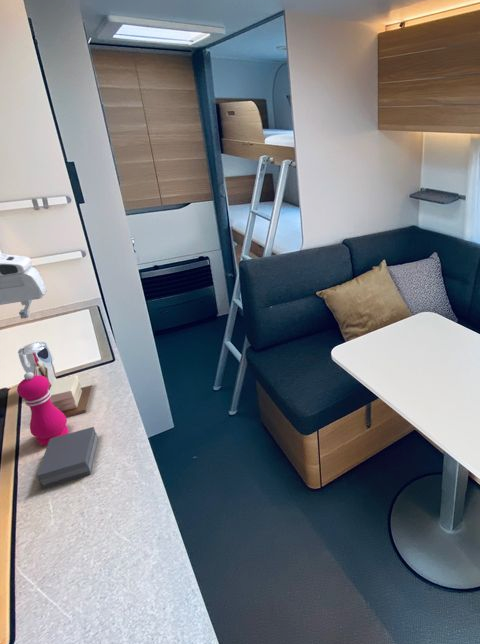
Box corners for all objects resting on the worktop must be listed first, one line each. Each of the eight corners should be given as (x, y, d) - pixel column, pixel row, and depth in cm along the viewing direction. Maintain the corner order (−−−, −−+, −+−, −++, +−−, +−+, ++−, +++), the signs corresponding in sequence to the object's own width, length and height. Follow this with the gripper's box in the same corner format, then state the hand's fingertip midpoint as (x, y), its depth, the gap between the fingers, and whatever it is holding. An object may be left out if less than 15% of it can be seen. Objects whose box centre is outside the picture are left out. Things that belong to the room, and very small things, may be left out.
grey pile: (42, 491, 90) (36, 476, 88) (55, 452, 100) (49, 438, 98) (92, 476, 93) (86, 461, 91) (99, 440, 103) (94, 426, 102)
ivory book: (49, 403, 109) (46, 396, 108) (56, 386, 116) (53, 379, 115) (73, 397, 111) (71, 390, 110) (79, 380, 118) (76, 374, 117)
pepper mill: (49, 452, 100) (21, 385, 92) (29, 444, 102) (0, 378, 95) (78, 431, 106) (53, 367, 99) (59, 425, 109) (33, 361, 101)
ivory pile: (42, 425, 108) (36, 410, 107) (53, 398, 119) (47, 384, 117) (86, 414, 112) (81, 399, 110) (93, 389, 122) (88, 375, 120)
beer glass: (45, 400, 118) (27, 356, 112) (28, 395, 120) (10, 352, 114) (68, 386, 124) (53, 343, 118) (52, 381, 126) (36, 339, 120)
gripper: (-90, 280, 86) (-62, 337, 91) (30, 264, 94) (49, 318, 99) (-75, 270, 91) (-50, 324, 96) (38, 256, 99) (55, 307, 104)
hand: (1, 321), depth 98 cm, fingers open, 8 cm apart
